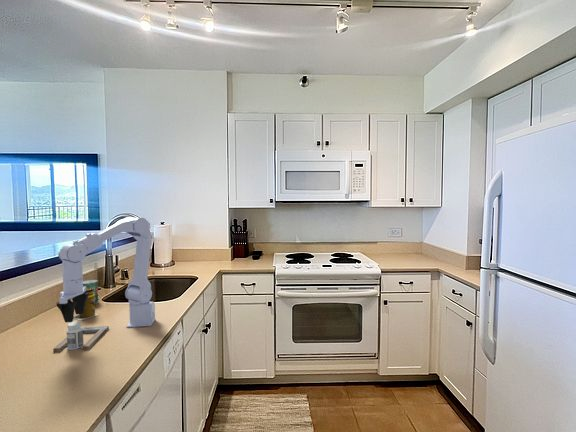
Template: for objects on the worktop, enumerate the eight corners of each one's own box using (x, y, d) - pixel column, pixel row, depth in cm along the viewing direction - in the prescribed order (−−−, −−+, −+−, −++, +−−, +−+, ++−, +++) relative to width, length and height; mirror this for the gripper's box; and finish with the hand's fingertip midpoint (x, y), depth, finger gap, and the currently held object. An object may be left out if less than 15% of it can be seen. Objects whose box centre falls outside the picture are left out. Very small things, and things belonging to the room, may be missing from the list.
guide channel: (105, 332, 127) (105, 328, 127) (88, 349, 112) (88, 346, 112) (74, 333, 125) (74, 330, 125) (53, 352, 110) (53, 348, 110)
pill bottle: (80, 342, 117) (79, 319, 117) (85, 346, 114) (84, 322, 114) (65, 347, 114) (64, 323, 113) (69, 351, 111) (69, 327, 110)
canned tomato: (75, 305, 159) (75, 282, 158) (89, 300, 166) (89, 279, 166) (88, 306, 157) (87, 284, 156) (102, 301, 164) (101, 280, 163)
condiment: (99, 314, 146) (99, 288, 146) (81, 320, 138) (80, 293, 138) (88, 312, 149) (88, 286, 148) (70, 318, 141) (69, 291, 141)
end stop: (108, 329, 130) (108, 326, 129) (105, 332, 127) (105, 328, 127) (78, 330, 128) (78, 327, 128) (74, 333, 125) (74, 330, 125)
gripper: (70, 274, 119) (71, 311, 120) (48, 285, 105) (50, 326, 105) (91, 274, 120) (92, 310, 121) (72, 284, 106) (73, 325, 107)
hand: (74, 317), depth 113 cm, fingers open, 7 cm apart
